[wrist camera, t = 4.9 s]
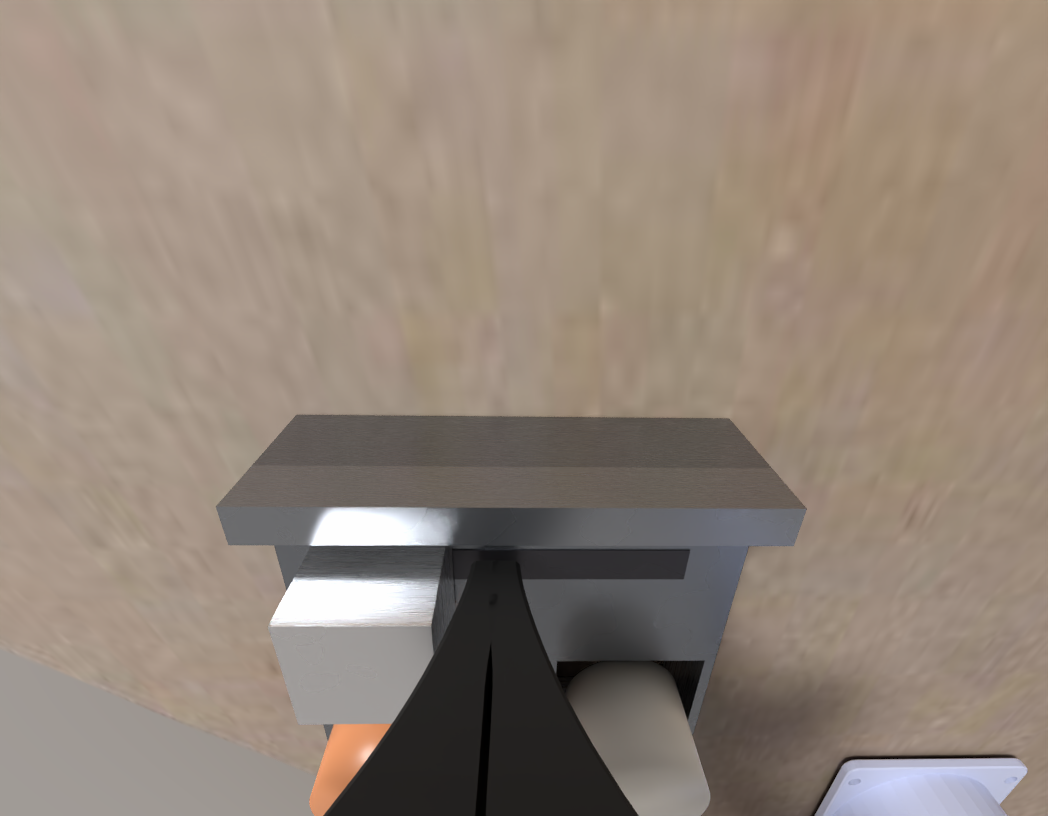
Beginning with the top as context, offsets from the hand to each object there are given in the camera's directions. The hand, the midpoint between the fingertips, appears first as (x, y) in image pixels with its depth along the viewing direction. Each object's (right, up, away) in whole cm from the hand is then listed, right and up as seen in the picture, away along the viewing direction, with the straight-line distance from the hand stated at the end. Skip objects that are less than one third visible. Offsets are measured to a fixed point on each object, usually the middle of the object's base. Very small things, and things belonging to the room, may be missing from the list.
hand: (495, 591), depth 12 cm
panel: (0, -1, +4) cm, 5 cm away
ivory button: (+4, -5, +4) cm, 7 cm away
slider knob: (-3, 0, +1) cm, 3 cm away
